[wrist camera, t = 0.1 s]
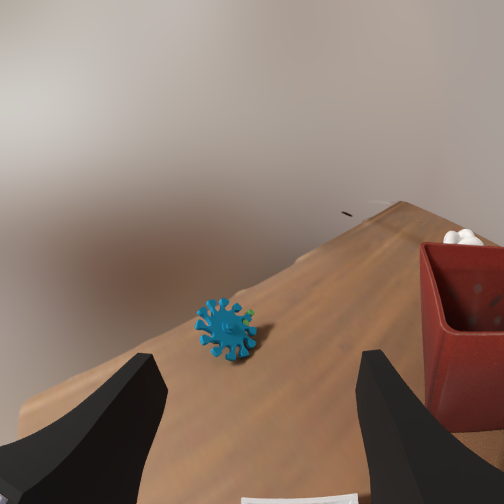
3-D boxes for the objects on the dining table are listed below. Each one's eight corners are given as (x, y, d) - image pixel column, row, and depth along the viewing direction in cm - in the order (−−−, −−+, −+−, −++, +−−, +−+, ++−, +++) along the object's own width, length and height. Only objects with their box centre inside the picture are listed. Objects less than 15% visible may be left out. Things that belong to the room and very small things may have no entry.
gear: (224, 369, 38) (186, 307, 40) (205, 380, 41) (172, 324, 44) (274, 338, 46) (240, 286, 48) (254, 351, 49) (223, 303, 52)
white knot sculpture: (483, 264, 59) (489, 230, 56) (480, 283, 51) (487, 245, 48) (446, 256, 66) (449, 223, 63) (437, 272, 59) (442, 235, 56)
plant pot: (393, 455, 23) (443, 329, 17) (402, 347, 39) (419, 240, 33) (533, 446, 15) (606, 326, 9) (507, 350, 31) (538, 249, 25)
